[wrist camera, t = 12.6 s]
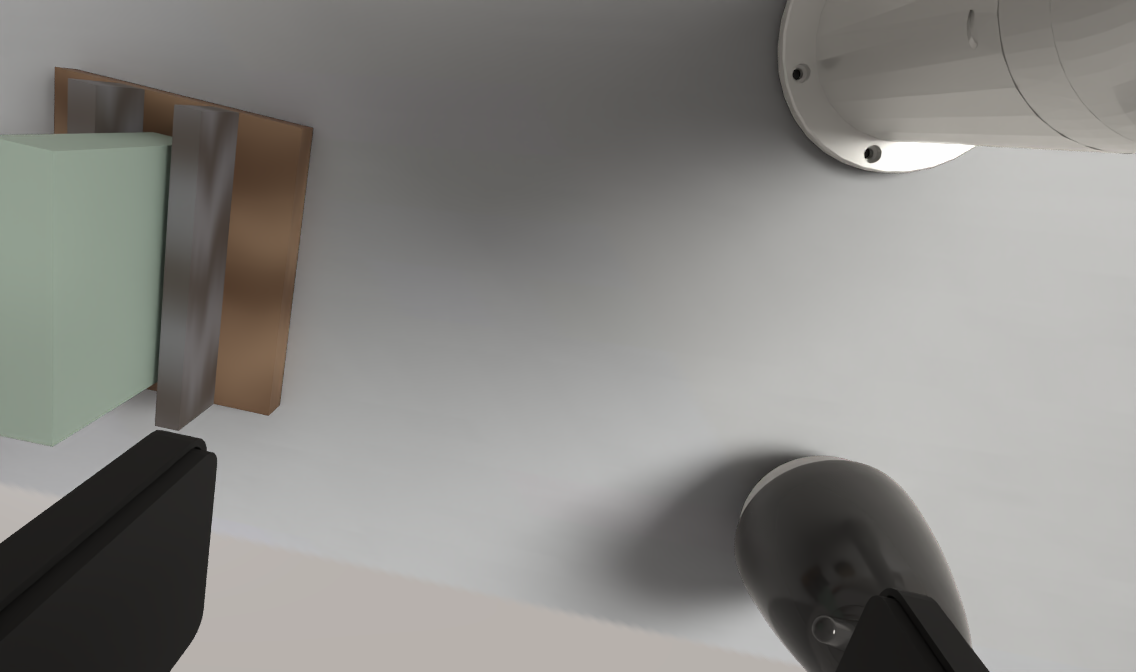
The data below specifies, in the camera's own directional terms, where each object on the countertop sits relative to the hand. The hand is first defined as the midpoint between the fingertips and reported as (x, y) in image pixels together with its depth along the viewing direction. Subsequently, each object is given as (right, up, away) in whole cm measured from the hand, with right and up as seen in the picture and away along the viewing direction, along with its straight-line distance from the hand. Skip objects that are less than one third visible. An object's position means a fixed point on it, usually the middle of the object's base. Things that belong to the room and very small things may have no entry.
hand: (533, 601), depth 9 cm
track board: (-20, +8, +27) cm, 35 cm away
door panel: (-20, +8, +26) cm, 34 cm away
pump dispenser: (+15, -7, +32) cm, 36 cm away
